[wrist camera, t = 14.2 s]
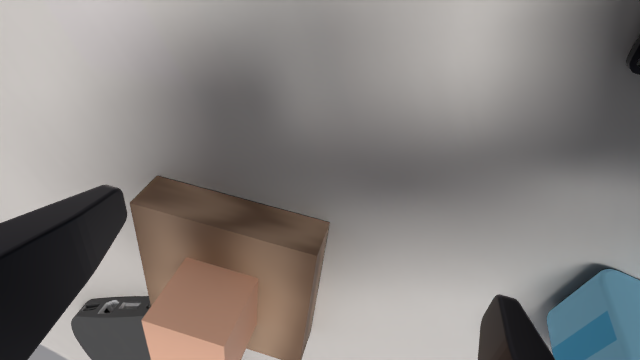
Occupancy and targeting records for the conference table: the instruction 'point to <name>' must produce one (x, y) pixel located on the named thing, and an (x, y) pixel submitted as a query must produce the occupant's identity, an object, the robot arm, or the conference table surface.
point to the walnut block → (236, 254)
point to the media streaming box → (113, 328)
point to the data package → (598, 320)
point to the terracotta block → (202, 314)
